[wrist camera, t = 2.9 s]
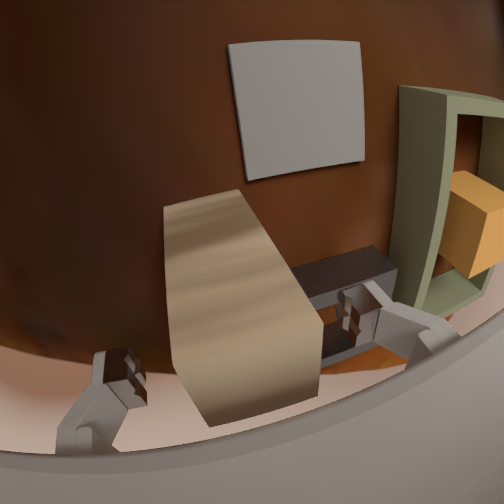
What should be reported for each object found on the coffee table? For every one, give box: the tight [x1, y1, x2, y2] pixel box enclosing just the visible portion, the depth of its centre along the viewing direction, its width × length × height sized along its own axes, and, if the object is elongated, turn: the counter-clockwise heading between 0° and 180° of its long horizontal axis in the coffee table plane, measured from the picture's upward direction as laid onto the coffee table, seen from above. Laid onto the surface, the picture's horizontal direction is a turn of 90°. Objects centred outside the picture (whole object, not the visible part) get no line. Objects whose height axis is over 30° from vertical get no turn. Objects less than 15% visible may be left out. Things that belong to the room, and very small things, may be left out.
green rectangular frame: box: [388, 85, 504, 318], centre depth 19 cm, size 18×11×4 cm, turn 7°
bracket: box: [290, 245, 398, 369], centre depth 21 cm, size 8×11×3 cm
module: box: [438, 171, 504, 279], centre depth 18 cm, size 5×5×6 cm
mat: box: [227, 40, 365, 181], centre depth 14 cm, size 7×7×1 cm
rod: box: [164, 189, 324, 427], centre depth 13 cm, size 4×4×10 cm
